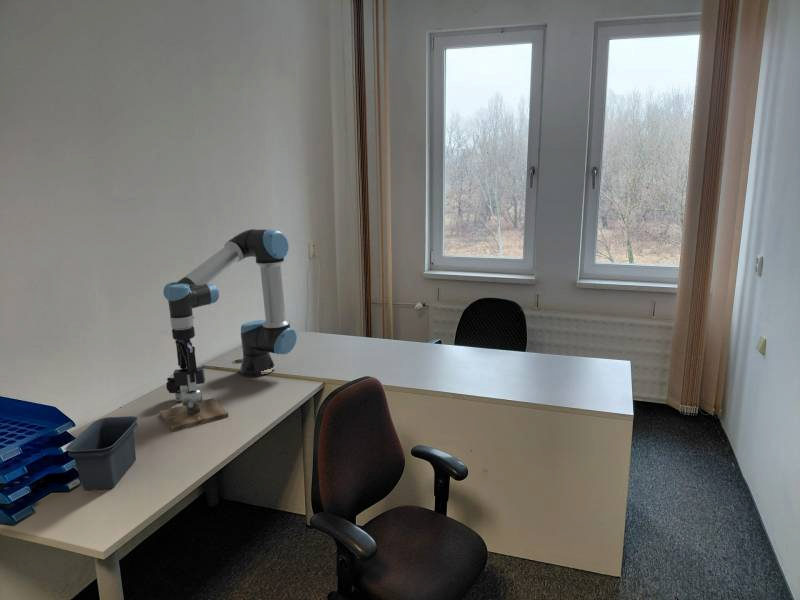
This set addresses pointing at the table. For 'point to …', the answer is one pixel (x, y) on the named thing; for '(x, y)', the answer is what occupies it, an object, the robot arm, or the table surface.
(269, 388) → the table surface
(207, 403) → the base
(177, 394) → the pneumatic valve
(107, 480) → the storage bin
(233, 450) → the table surface
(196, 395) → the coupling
